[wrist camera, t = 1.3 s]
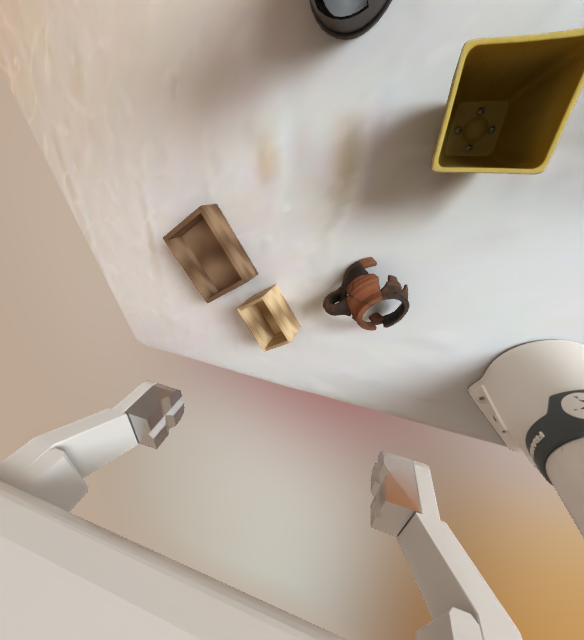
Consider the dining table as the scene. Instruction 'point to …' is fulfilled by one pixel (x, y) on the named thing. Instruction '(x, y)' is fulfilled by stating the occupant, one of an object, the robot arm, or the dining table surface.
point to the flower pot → (510, 102)
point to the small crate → (269, 318)
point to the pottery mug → (366, 296)
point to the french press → (349, 19)
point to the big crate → (210, 252)
